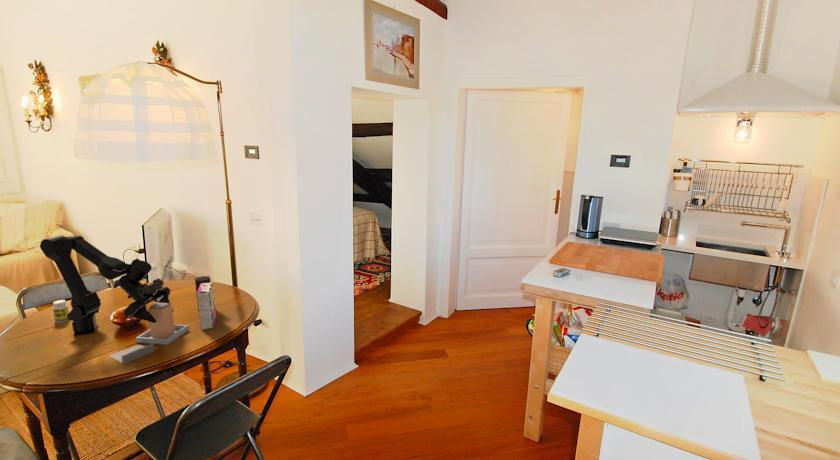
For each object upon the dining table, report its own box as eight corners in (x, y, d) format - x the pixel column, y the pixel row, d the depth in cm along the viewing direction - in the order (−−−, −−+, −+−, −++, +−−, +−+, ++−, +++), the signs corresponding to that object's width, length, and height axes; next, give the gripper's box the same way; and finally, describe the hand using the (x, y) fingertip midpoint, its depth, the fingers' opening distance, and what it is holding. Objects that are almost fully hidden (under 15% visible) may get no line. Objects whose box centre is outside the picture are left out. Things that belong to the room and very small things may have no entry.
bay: (109, 356, 145) (107, 349, 145) (139, 344, 154) (138, 337, 153) (124, 364, 141) (123, 357, 140) (154, 352, 149) (153, 344, 148)
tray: (136, 343, 155) (135, 337, 154) (160, 328, 167) (159, 323, 166) (167, 345, 154) (166, 340, 153) (188, 330, 166) (188, 325, 165)
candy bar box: (203, 319, 176) (200, 283, 173) (216, 317, 178) (213, 281, 174) (200, 330, 166) (196, 292, 163) (213, 328, 168) (210, 291, 164)
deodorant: (215, 309, 186) (212, 278, 182) (201, 313, 182) (197, 281, 178) (209, 306, 190) (207, 275, 186) (196, 309, 185) (192, 278, 182)
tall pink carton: (151, 338, 158) (147, 307, 155) (160, 332, 163) (157, 301, 160) (166, 339, 157) (162, 308, 155) (175, 333, 162) (171, 302, 159)
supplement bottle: (53, 323, 169) (49, 304, 167) (56, 319, 173) (53, 300, 171) (68, 321, 171) (64, 302, 169) (71, 317, 175) (68, 298, 173)
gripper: (126, 283, 146) (158, 314, 147) (163, 267, 164) (192, 295, 165) (109, 302, 148) (141, 332, 150) (148, 284, 167) (176, 311, 168)
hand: (164, 316), depth 158 cm, fingers open, 9 cm apart
